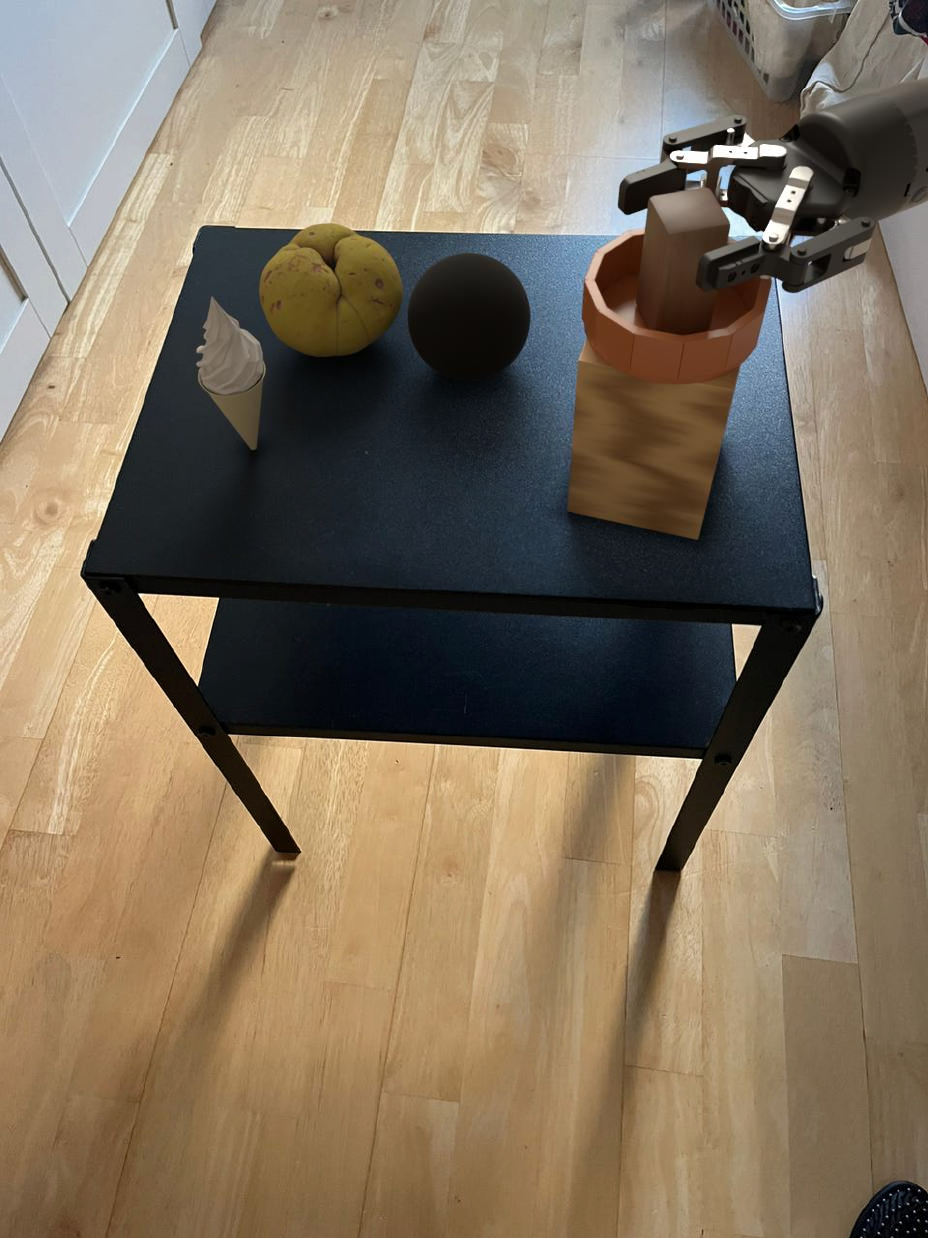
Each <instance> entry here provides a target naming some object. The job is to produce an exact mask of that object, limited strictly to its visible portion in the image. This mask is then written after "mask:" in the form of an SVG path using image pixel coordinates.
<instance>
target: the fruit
mask: <svg viewBox="0 0 928 1238" xmlns="http://www.w3.org/2000/svg"><path fill="white" fill-rule="evenodd" d="M258 288H259V292H258V293H259V300H260V305H261V308H262V311H263V313H264V316H265V318H266V320H267V323H268V325H269V327H270V329H271V331H272V332H273V334H274V335H275V336H276V337H277V338H278V339H279V340H280V341H281V342H282V343H283V344H285V345H287V347H289V348H291V349H292V350H295V351H297V352H299V353H302V354H304V355H307V356H309V357H310V356H311V357H315V358H329V357H343V356H349V355H353V354H356V353H358V352H360V351H362V350H363V349H365V348H367V347H368V346H370V345H371V344H373V343H374V342H376V341H377V340H378V339H379V338H381V337H382V336H383V335H384V334H385V333H386V332H387V331H389V329H390V328H391V326H392V325H393V324H394V322H395V320H396V319H397V317H398V316H399V313H400V311H401V307H402V304H403V297H404V289H403V283H402V279H401V275H400V271H399V269H398V267H397V263H396V262H395V260H394V259H393V257H392V255H391V254H390V253H389V252H388V250H387V249H385V247H383V246H382V245H381V244H380V243H379V242H377V241H375V240H373V239H371V238H369V237H366V236H362V235H361V234H358V233H357V232H356V231H354V230H353V229H351V228H350V227H347V226H345V225H341V224H338V223H333V222H325V223H324V222H323V223H317V224H312V225H309V226H307V227H305V228H303V229H301V230H300V231H299V232H298V233H297V234H296V235H294V237H293V238H292V239H291V240H290V242H289V243H288V244H286V245H285V246H282V247H281V248H280V249H279V250H278V251H277V252H276V254H275V255H274V256H273V257H271V259H270V260H269V261H268V262H267V264H266V265H265V266H264V268H263V270H262V273H261V276H260V280H259V287H258Z"/></svg>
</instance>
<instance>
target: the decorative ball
mask: <svg viewBox="0 0 928 1238" xmlns="http://www.w3.org/2000/svg"><path fill="white" fill-rule="evenodd" d="M528 297H529V296H528V295H527V291H526V289H525V287H524V285H523V284H522V282H521V280H520V279H519V277H518V276H517V275H516V273H515V272H513V271H512V269H511V268H510V267H509V266H507V265H506V264H504V263H503V262H501V261H500V260H498V259H496V258H495V257H492V256H489V255H486V254H482V253H477V252H476V253H475V252H462V253H461V252H460V253H456V254H453V255H449V256H447V257H444V258H441V259H440V260H439V261H438V260H437V262H435V263H434V264H433V265H431V266H430V267H429V268H428V269H427V270H426V271H424V273H422V274H421V276H420V278H418V281H417V282H416V284H415V286H414V287H413V290H412V291H411V295H410V297H409V301H408V306H407V327H408V333H409V336H410V340H411V342H412V345H413V347H414V349H415V351H416V353H418V356H420V358H421V359H422V360H423V362H425V364H426V365H427V366H429V367H430V368H431V369H432V370H434V371H435V372H437V373H438V374H440V375H442V376H444V377H446V378H448V379H453V380H455V381H460V382H461V381H462V382H476V381H477V382H478V381H481V380H486V379H489V378H492V377H494V376H496V375H498V374H500V373H501V372H503V371H505V370H506V369H507V368H508V367H510V365H512V363H514V361H515V360H516V359H517V358H518V357H519V355H520V354H521V352H522V350H523V348H524V347H525V344H526V342H527V340H528V337H529V332H530V328H531V319H532V318H531V317H532V316H531V306H530V301H529V298H528Z"/></svg>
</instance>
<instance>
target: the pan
mask: <svg viewBox="0 0 928 1238" xmlns="http://www.w3.org/2000/svg"><path fill="white" fill-rule="evenodd" d="M705 178H706V173H702V174H701V177H700V179H699V181H703V180H704V179H705ZM722 181H723V176H721V175H719V178H718V183H717V186H718V187H719V188H721V187H722ZM644 232H645V227H640V228H634V229H629V230H627V231H625V232H623V233H621V234H620V235H618V236H617V237H615V238H613V239H612V240H611V241H609V242H607V243H606V244H604V245H603V246H601V247H600V248H598V249H597V250H595V252H594V253H593V256H592V259H591V261H590V263H589V266H588V269H587V272H586V274H585V277H584V278H583V288H582V289H583V291H582V301H581V302H582V305H581V320H582V322H583V329H584V333H585V337H586V338H587V339H588V341H589V343H590V345H591V347H592V348H593V349H594V350H595V352H596V353H597V354H598V355H599V356H600V357H601V358H602V359H603V360H604V361H606V362H607V363H608V364H609V365H611V366H612V367H614V368H616V369H617V370H619V371H621V372H623V373H625V374H628V375H630V376H633V377H636V378H638V379H642V380H646V381H650V382H655V383H662V384H692V383H699V382H704V381H708V380H712V379H715V378H718V377H720V376H723V375H725V374H727V373H729V372H731V371H732V370H734V369H735V368H737V367H739V366H740V365H741V366H742V364H743V363H745V362H746V361H747V360H748V358H749V357H750V356H751V354H752V353H753V352H754V351H755V350H756V349H757V345H758V342H759V337H760V334H761V329H762V326H763V322H764V318H765V314H766V310H767V305H768V302H769V297H770V293H771V289H772V284H773V278H771V279H760V278H758V277H755V278H753V279H750V280H748V281H745V282H742V283H739V284H737V285H735V286H734V285H733V286H732V287H729V288H727V289H722V290H718V291H717V295H716V300H715V305H714V310H713V315H712V320H711V325H710V327H709V328H708V329H706V330H702V331H696V332H690V333H685V334H679V335H677V334H671V333H666V332H660V331H655V330H649V328H648V326H647V324H646V322H645V320H644V318H643V316H642V314H641V311H640V309H639V307H638V305H637V303H636V297H637V289H638V281H639V273H640V265H641V257H642V248H643V240H644ZM738 241H739V240H736V239H734V238H732V237H730V236H728V241H727V245H730V244H732V243H735V242H738Z"/></svg>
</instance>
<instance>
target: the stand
mask: <svg viewBox="0 0 928 1238" xmlns="http://www.w3.org/2000/svg"><path fill="white" fill-rule="evenodd" d="M741 367H742V364H741V365H740V366H739V367H737V368H735V369H734V370H732V371H731V372H729V373H727V374H725V375H723V376H720V377H718V378H715V379H712V380H708V381H704V382H699V383H692V384H662V383H655V382H650V381H646V380H642V379H638V378H636V377H633V376H630V375H628V374H625V373H623V372H621V371H619V370H617V369H616V368H614V367H612V366H611V365H609V364H608V363H607V362H606V361H604V360H603V359H602V358H601V357H600V356H599V355H598V354H597V353H596V352H595V350H594V349H593V348H592V347H591V345H590V343H589V341H588V339H587V337H586V339H585V341H584V343H583V346H582V349H581V352H580V354H579V357H578V360H577V370H576V385H575V397H574V398H575V399H574V412H573V427H572V429H573V430H572V442H571V454H570V455H571V456H570V469H569V472H570V473H569V484H568V495H567V496H568V498H567V511H566V512H568V513H573V514H577V515H583V516H586V517H591V518H595V519H599V520H604V521H610V522H613V523H619V524H622V525H627V526H632V527H636V528H641V529H646V530H651V531H655V532H659V533H663V534H668V535H673V536H678V537H681V538H686V539H692V540H696V541H697V540H699V537H700V534H701V531H702V525H703V521H704V518H705V514H706V510H707V505H708V502H709V499H710V495H711V494H710V493H711V490H712V485H713V482H714V478H715V474H716V469H717V465H718V462H719V457H720V453H721V449H722V445H723V442H724V438H725V433H726V429H727V424H728V420H729V417H730V413H731V408H732V404H733V399H734V396H735V391H736V388H737V383H738V379H739V375H740V370H741Z"/></svg>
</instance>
